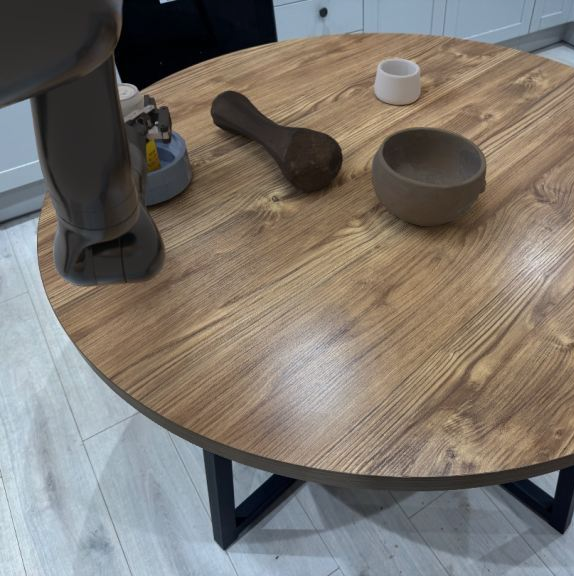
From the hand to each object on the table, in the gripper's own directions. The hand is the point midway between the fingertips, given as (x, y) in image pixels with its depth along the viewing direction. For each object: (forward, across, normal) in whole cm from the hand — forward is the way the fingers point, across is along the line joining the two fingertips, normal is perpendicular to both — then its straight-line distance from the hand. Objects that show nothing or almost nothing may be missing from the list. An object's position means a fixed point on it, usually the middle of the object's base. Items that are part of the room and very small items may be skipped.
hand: (116, 103), depth 81 cm
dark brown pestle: (+5, -22, +15) cm, 27 cm away
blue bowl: (+3, 0, +15) cm, 16 cm away
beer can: (+2, 0, +15) cm, 15 cm away
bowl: (-14, -43, +15) cm, 48 cm away
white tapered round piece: (+24, -52, +15) cm, 59 cm away
